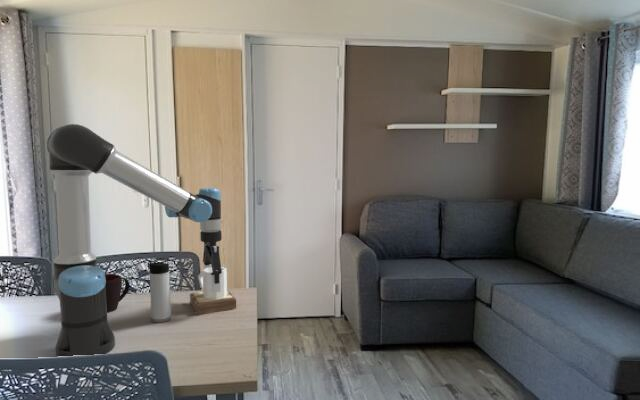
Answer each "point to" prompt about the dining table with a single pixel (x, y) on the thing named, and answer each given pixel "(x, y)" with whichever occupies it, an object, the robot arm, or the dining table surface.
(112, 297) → the mug
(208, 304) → the pedestal
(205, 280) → the mug
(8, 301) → the dining table surface
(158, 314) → the travel mug
